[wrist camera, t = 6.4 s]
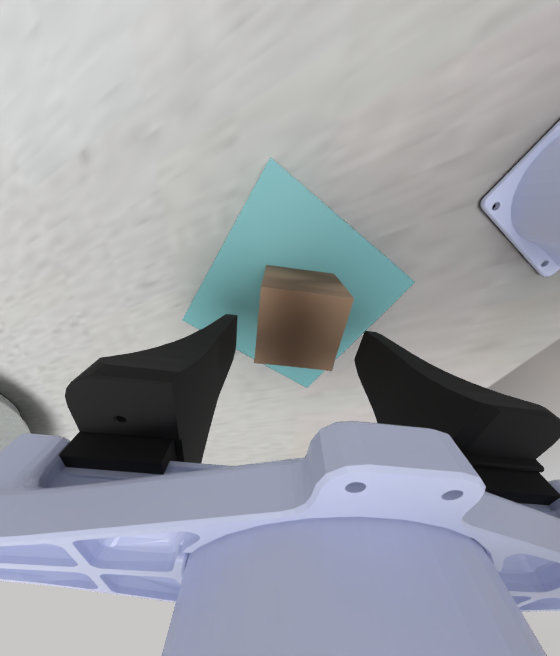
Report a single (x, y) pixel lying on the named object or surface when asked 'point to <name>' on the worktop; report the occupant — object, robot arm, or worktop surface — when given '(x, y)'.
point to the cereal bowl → (10, 423)
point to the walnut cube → (301, 318)
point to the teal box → (293, 263)
